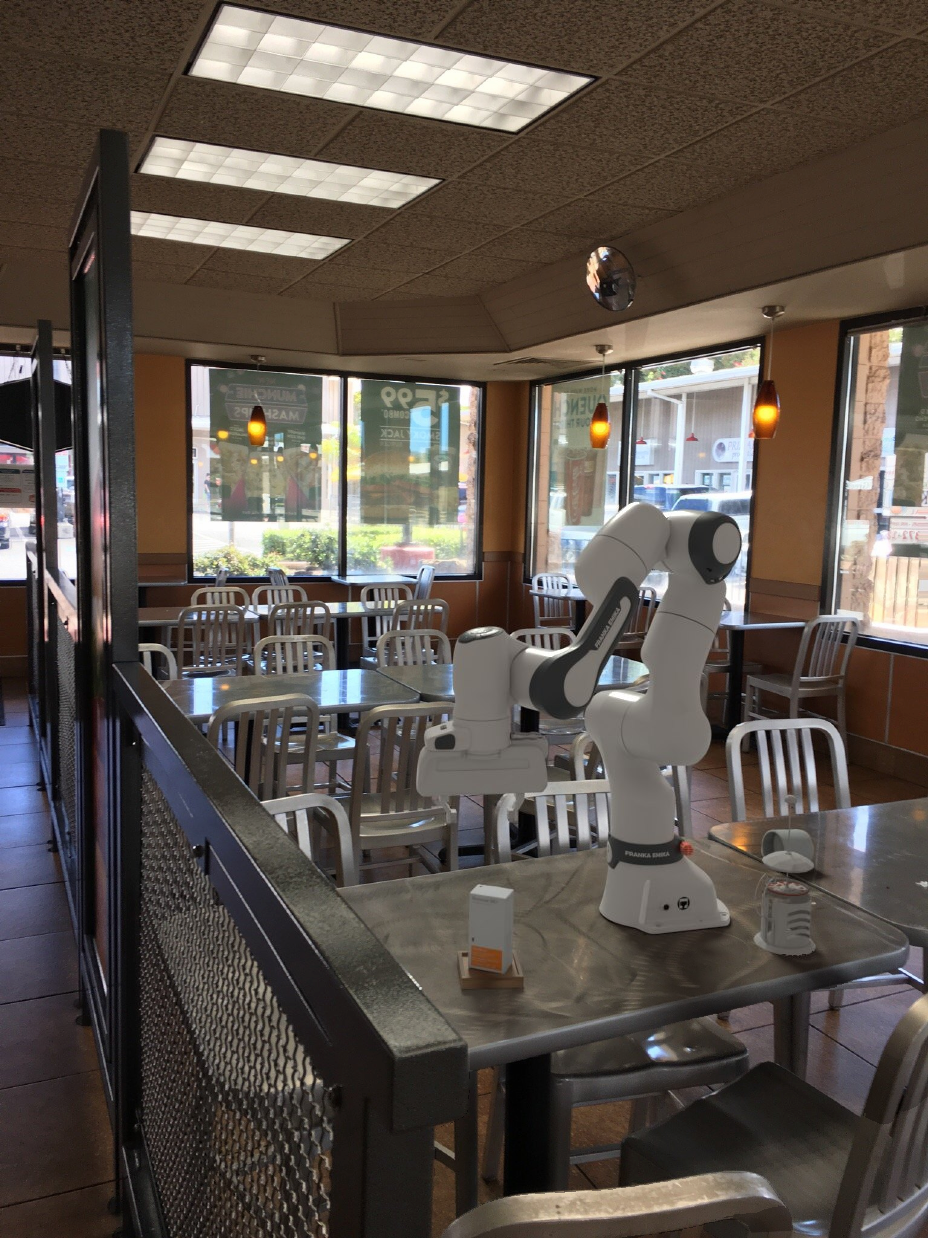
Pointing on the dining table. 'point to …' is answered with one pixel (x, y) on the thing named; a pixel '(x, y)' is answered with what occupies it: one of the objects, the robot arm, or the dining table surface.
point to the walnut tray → (489, 975)
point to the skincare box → (491, 928)
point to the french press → (786, 904)
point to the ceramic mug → (798, 843)
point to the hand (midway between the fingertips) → (481, 821)
